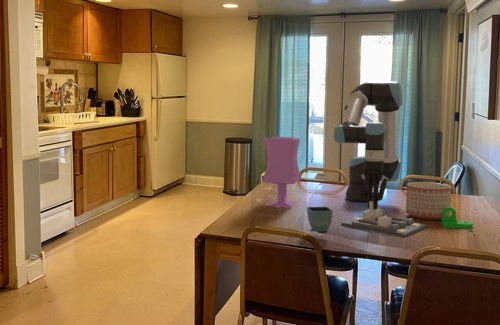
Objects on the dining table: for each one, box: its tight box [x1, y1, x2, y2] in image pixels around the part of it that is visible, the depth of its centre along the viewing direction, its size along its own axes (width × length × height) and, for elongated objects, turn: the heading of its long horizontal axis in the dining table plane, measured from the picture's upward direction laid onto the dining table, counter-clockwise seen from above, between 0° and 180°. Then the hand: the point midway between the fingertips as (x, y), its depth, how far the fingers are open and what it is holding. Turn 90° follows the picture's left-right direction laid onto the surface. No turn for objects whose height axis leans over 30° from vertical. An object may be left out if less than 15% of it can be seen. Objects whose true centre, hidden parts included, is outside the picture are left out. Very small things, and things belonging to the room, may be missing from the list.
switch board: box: [340, 215, 428, 238], centre depth 201 cm, size 28×22×3 cm
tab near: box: [378, 214, 392, 228], centre depth 194 cm, size 4×4×5 cm
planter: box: [405, 181, 452, 221], centre depth 220 cm, size 19×19×15 cm
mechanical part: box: [440, 206, 474, 230], centre depth 202 cm, size 12×6×8 cm, turn 79°
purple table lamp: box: [262, 136, 302, 209], centre depth 241 cm, size 16×16×35 cm
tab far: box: [375, 206, 384, 218], centre depth 211 cm, size 4×4×5 cm
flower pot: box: [306, 206, 334, 233], centre depth 193 cm, size 9×9×9 cm
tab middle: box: [362, 209, 376, 221], centre depth 206 cm, size 4×4×5 cm
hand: (372, 216), depth 198 cm, fingers closed
